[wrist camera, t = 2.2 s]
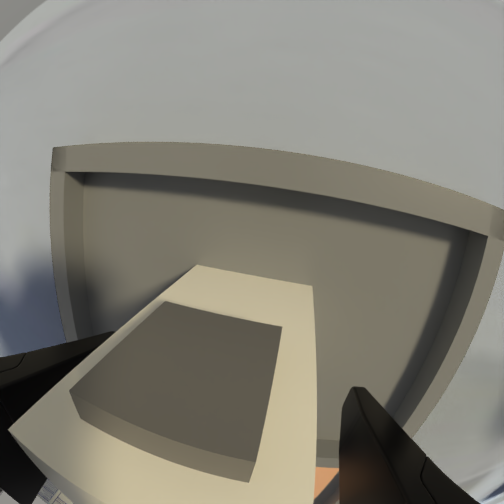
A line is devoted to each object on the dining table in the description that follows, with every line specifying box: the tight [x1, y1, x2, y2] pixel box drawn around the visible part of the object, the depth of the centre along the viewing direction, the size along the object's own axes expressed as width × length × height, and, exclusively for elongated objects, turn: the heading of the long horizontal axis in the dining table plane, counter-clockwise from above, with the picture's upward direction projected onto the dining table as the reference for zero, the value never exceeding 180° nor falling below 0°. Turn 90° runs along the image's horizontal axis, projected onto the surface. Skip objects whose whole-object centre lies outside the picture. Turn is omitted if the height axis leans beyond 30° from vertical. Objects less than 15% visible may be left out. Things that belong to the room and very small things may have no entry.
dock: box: [50, 142, 504, 504], centre depth 11 cm, size 25×17×2 cm
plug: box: [8, 265, 317, 504], centre depth 6 cm, size 6×4×8 cm
